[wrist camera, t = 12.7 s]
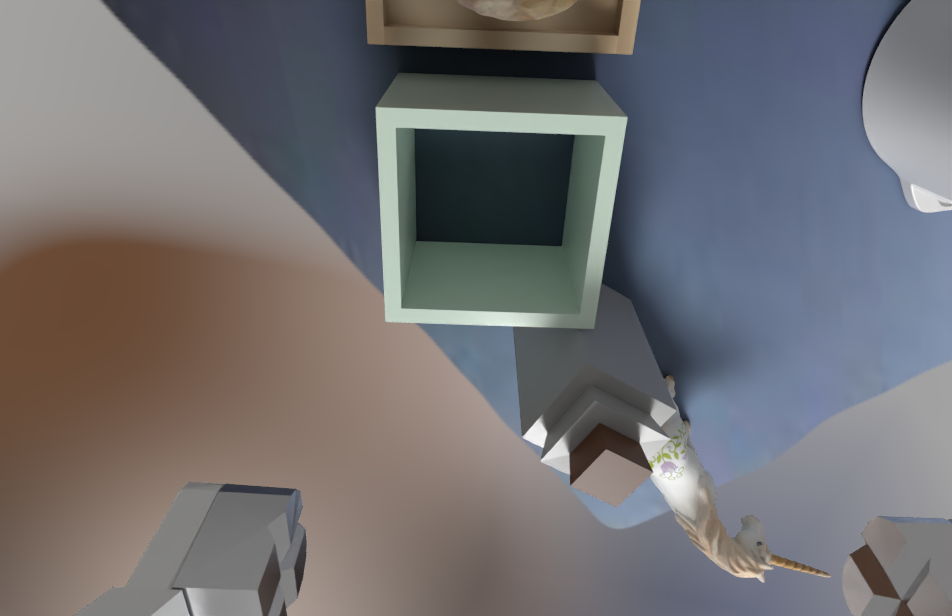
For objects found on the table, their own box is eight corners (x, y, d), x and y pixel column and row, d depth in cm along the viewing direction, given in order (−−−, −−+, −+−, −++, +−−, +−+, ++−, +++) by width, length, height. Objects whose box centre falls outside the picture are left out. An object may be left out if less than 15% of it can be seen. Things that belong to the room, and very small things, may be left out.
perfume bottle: (560, 259, 47) (599, 414, 31) (630, 299, 49) (699, 464, 33) (512, 323, 50) (526, 493, 34) (579, 358, 52) (621, 535, 36)
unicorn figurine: (697, 489, 59) (749, 619, 48) (560, 378, 53) (583, 498, 41) (761, 449, 57) (832, 577, 45) (625, 326, 50) (668, 440, 38)
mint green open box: (596, 80, 40) (627, 116, 32) (573, 258, 47) (593, 329, 38) (398, 72, 40) (375, 107, 31) (403, 252, 47) (385, 321, 38)
